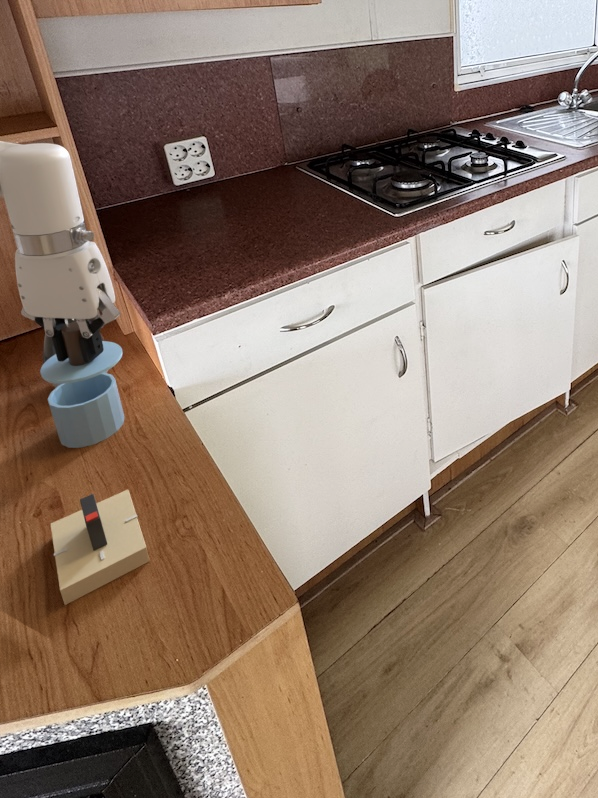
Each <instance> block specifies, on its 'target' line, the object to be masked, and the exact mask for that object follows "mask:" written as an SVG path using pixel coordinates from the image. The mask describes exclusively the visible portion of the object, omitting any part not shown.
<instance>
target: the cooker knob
mask: <svg viewBox="0 0 598 798" xmlns="http://www.w3.org/2000/svg"><path fill="white" fill-rule="evenodd" d="M79 503H80V507H81V510H82V511H83V515H84V519H85V523H86V527H87V530H88V534H89V537H90V541H91V544H92V547H93V551H95V550H97V549H99V548H101V547H103V546H105V545H107V541H106V537H105V533H104V530H103V526H102V522H101V519H100V515H99V511H98V508H97V504H96V503H97V501H96V498H95V493H92V494H91V493H90V494H89V495H87V496H84V497H82V498H80V499H79Z"/></svg>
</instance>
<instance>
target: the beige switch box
mask: <svg viewBox="0 0 598 798" xmlns="http://www.w3.org/2000/svg"><path fill="white" fill-rule="evenodd" d="M130 493H131V492H130V489H125V490H124V491H121V492H118V493H115V494H114V495H112V496H110V497H107V498H106V499H103V500H101V501H98V502H96V504H97V508H98V511H99V515H100V519H101V522H102V526H103V530H104V533H105V537H106V541H107V545H105V546H103V547H101V548H99V549H97V550H95V551H93V547H92V544H91V541H90V537H89V534H88V530H87V527H86V523H85V519H84V515H83V511H82V509H80V510H78V511H76V512H73V513H71V514H68V515H67V516H65V517H63V518H60V519H58V520H55V521H52V522H51V523H50V530H51V531H50V532H51V539H52V544H53V551H54V553H53V557H54V560H55V566H56V573H57V579H58V586H59V592H60V595H61V597H62V600H63V605H64V606H66V605H68V604H70V603H72V602H74V601H76V600H78V599H80V598H81V597H83V596H85V595H88V594H89V593H91V592H93V591H95V590H97V589H99V588H101V587H103V586H105V585H107V584H109V583H111V582H113V581H114V580H117V579H118V578H120V577H123V576H124V575H126V574H128V573H130V572H132V571H134V570H135V569H137V568H139V567H141V566H143V565H145V564H147V563H149V562H150V561H151V559H150V556H149V552H148V548H147V545H146V541H145V538H144V535H143V532H142V529H141V525H140V522H139V519H138V517H139V516H138V514H137V512H136V509H135V506H134V503H133V500H132V496H131V494H130Z"/></svg>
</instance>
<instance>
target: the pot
mask: <svg viewBox="0 0 598 798" xmlns="http://www.w3.org/2000/svg"><path fill="white" fill-rule="evenodd" d="M47 402H48V406H49V410H50V414H51V417H52V419H53V423H54V426H55V430H56V433H57V436H58V440H59V442H60V444H61V446H64V447H67V448H69V449H71V448H73V449H75V448H76V449H80V448H85V447H89V446H93V445H96V444H98V443H101V442H103V441H105V440H107V439H108V438H110V437H111V436H113V435H114V434H116V433H117V432H118V431H119V430H120V429H121V427H122V426H123V425H124V423H125V413H124V409H123V404H122V401H121V397H120V393H119V389H118V384H117V381H116V378H115V377H114V375H113V374H110V373H108V372H107V373H102V374H100V375H98V376H95V377H93V378H90V379H87V380H83V381H79V382H74V383H66V384H61V385H59V386H58V387H54V389H53V390H52V391H51V392H50V393H49V395H48V398H47Z"/></svg>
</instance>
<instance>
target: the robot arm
mask: <svg viewBox="0 0 598 798" xmlns="http://www.w3.org/2000/svg"><path fill="white" fill-rule="evenodd" d="M2 197H3V199H4V200H3V201H4V203H5V206H6V211H7V215H8V219H9V222H10V225H11V229H12V234H13V237H14V241H15V245H16V250H15V252H14V268H15V276H16V283H17V290H18V293H19V298H20V301H21V305H22V307H21V310H20V315H22V316H23V317H24V318H27V319H29V320H31V321H32V322H35V323H36V324H37V325H38V326H40V327H41V328H42V329H43V330H44V333H45V334H46V335H47V336H49V337H52V340H53V344H54V348H55V352H56V356H57V360H58V361H62V362H63V361H65V360H66V359H67V358H68V355H67V351H66V347H65V343H64V339H63V336H62V332H61V329H62V327H63V326H65V325H67V324H68V319H76V320H77V323H78V326H79V329H80V331H81V334H82V337H81V338H80V339H79V343H80V348H81V352H82V356H83V360H84V362H85V363H90V362H92V361H93V360H94V359H95V358H96V357H97V356H99V355H100V354H101V353H102V352H103V350H104V348H103V343H102V339H101V335H102V333H101V330H102V328H104V326H105V325H107V324H109V323H111V322H114V321H115V320H116V319H117V318H118V317H119V316H121V311H120V310H119V309H118V308H117V306H115V302H116V294H115V289H114V285H113V282H112V278H111V275H110V272H109V270H108V266H107V264H106V262H105V259H104V257H103V254H102V252H101V250H100V249H99V247H98V245H97V243H96V242H95V241H93V240H94V238H95V233H94V232H93V231H92V230H87V225H86V222H85V218H84V213H83V208H82V203H81V198H80V194H79V190H78V185H77V180H76V177H75V171H74V167H73V163H72V158H71V155H70V152H69V151H68V150H67V149H66V148H65V147H64V146H62V145H59V144H57V143H51V142H50V143H49V142H48V143H47V142H38V143H37V142H35V143H26V144H22V143H15V142H8V141H3V140H0V198H2ZM100 312H101V313H100ZM88 319H90V320H91V324H89V321H88ZM100 333H101V334H100ZM45 334H44V335H45Z"/></svg>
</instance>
